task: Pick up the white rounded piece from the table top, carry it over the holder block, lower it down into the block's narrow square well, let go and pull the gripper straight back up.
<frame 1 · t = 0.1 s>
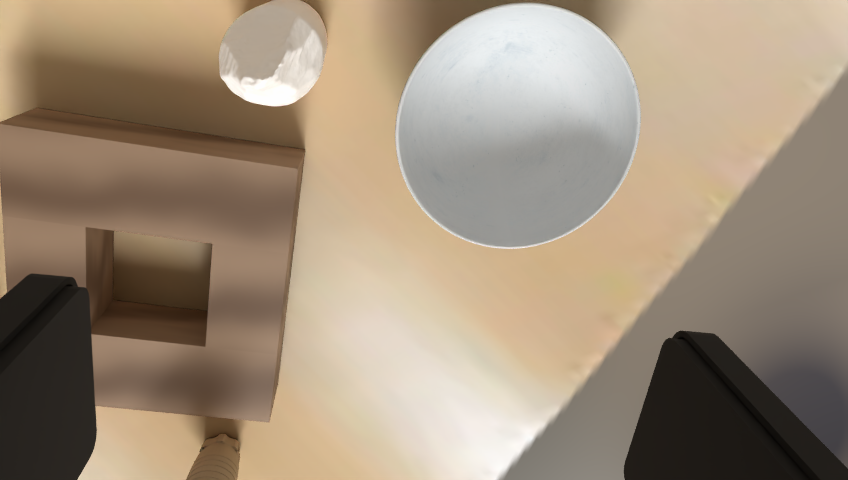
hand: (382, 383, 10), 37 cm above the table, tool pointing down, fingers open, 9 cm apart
white rounded piece: (287, 43, 43), on the table
well block: (169, 259, 48), on the table
handle: (223, 445, 55), on the table
chinaware: (495, 109, 46), on the table
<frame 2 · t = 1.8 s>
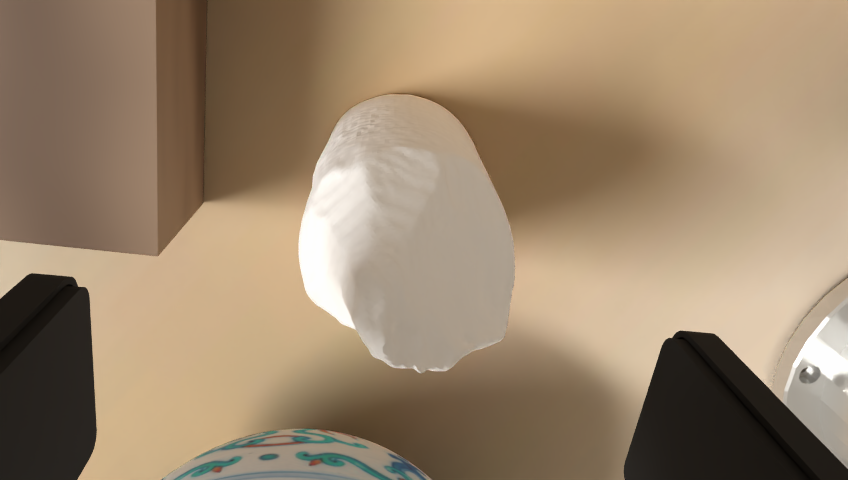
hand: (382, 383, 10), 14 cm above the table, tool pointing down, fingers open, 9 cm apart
white rounded piece: (401, 171, 24), on the table
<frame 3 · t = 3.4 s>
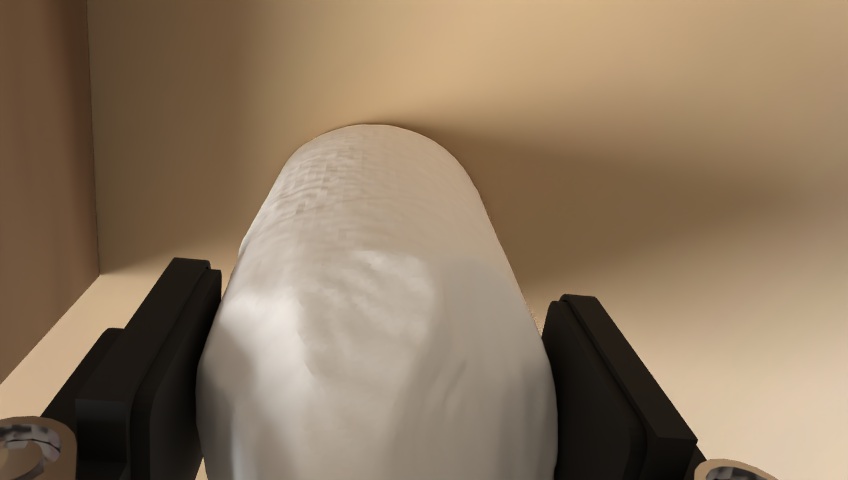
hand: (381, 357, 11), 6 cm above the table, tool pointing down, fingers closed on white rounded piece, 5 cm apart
white rounded piece: (377, 228, 17), on the table, touching gripper
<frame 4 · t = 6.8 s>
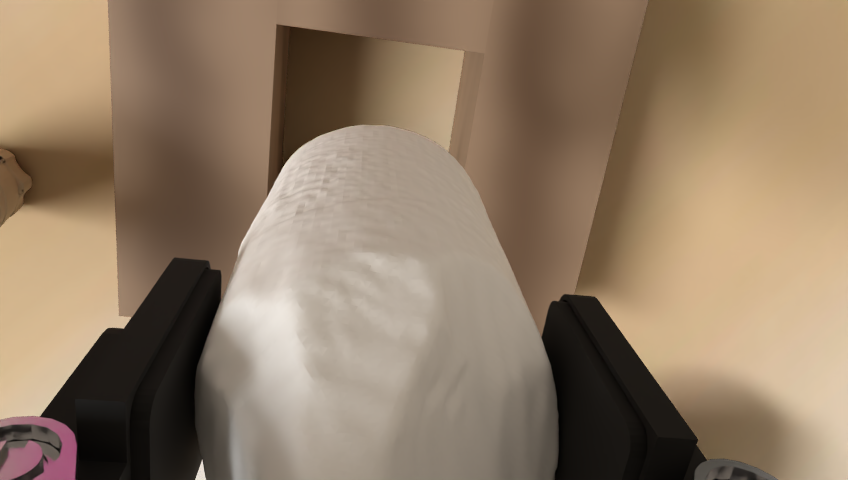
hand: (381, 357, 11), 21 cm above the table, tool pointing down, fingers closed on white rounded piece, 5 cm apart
white rounded piece: (377, 229, 17), point 15 cm above the table, touching gripper
well block: (370, 117, 31), on the table
handle: (0, 176, 30), on the table
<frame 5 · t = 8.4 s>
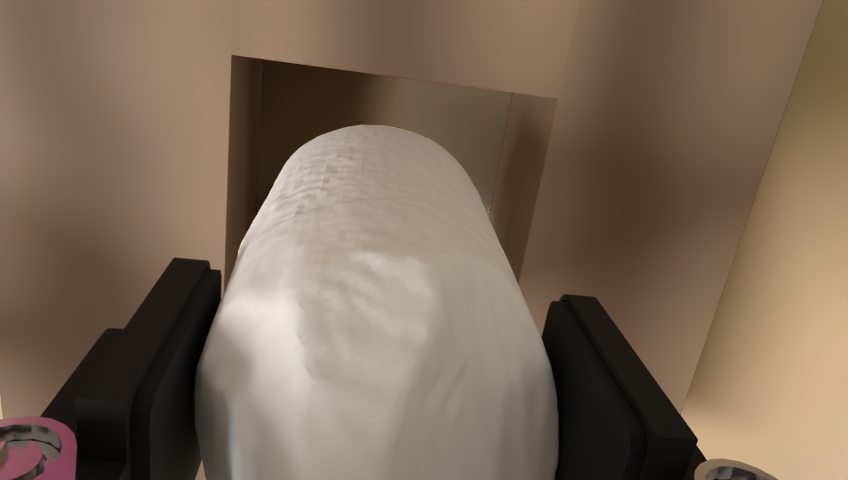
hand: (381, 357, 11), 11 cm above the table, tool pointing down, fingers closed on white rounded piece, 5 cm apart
white rounded piece: (377, 229, 17), point 5 cm above the table, touching gripper
well block: (378, 177, 22), on the table
when the fingers open (7 cm above the table, at t = 10.1 s): white rounded piece drops 1 cm, resting in well block.
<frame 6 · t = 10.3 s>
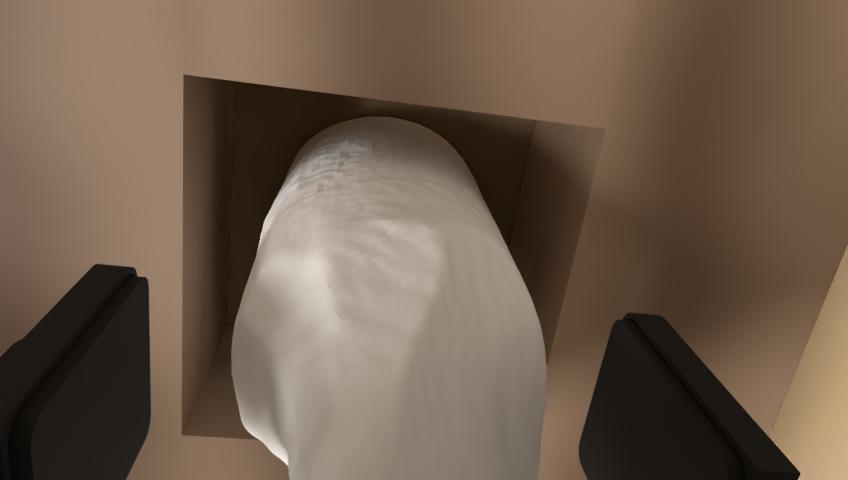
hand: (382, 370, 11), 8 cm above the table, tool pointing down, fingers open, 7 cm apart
white rounded piece: (381, 213, 18), resting in well block
well block: (376, 213, 18), on the table
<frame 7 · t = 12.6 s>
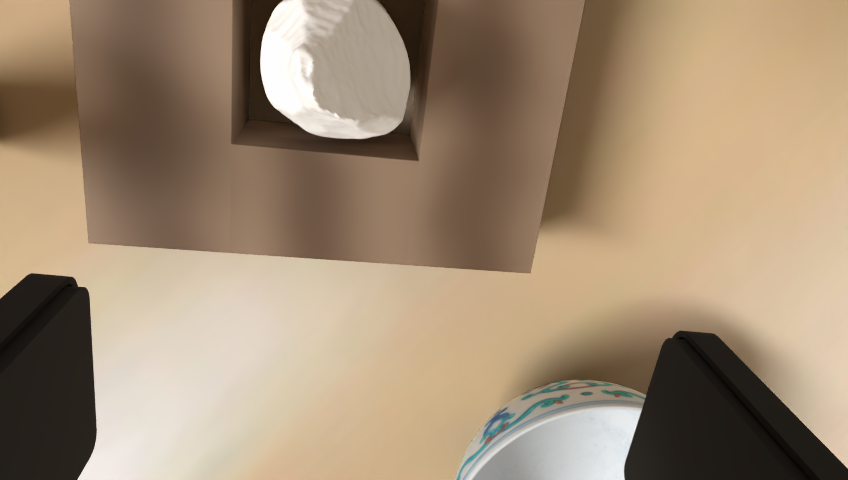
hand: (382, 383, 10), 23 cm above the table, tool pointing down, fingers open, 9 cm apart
white rounded piece: (339, 46, 31), resting in well block
well block: (336, 44, 31), on the table
chinaware: (548, 426, 41), on the table
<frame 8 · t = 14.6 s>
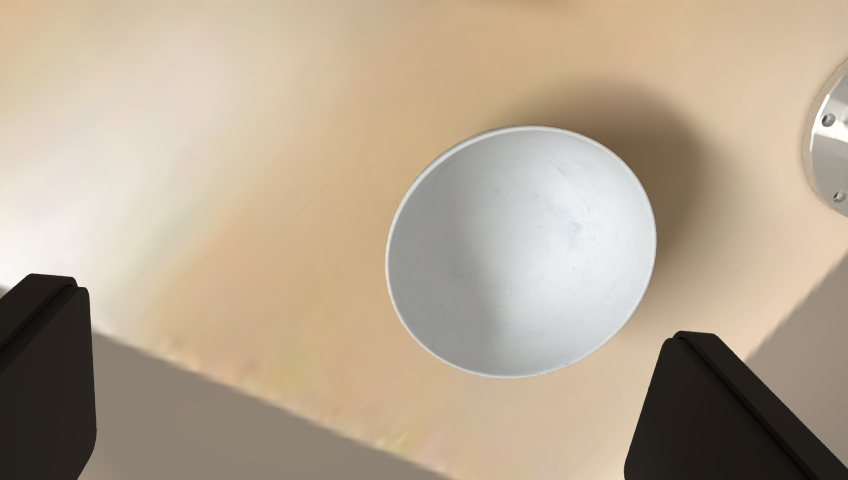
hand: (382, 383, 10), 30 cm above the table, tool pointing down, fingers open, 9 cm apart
chinaware: (496, 214, 42), on the table
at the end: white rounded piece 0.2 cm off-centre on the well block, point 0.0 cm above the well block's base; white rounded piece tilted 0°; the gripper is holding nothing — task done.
